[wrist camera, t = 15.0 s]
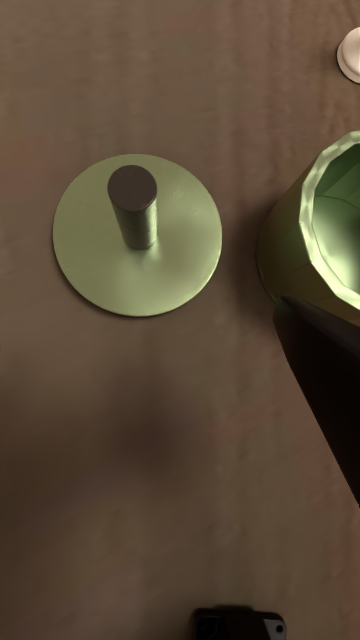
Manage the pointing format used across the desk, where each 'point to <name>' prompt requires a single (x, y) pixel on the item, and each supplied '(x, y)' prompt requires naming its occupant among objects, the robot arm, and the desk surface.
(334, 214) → the tin
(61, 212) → the lid
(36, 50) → the desk surface
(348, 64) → the chess piece
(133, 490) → the desk surface
